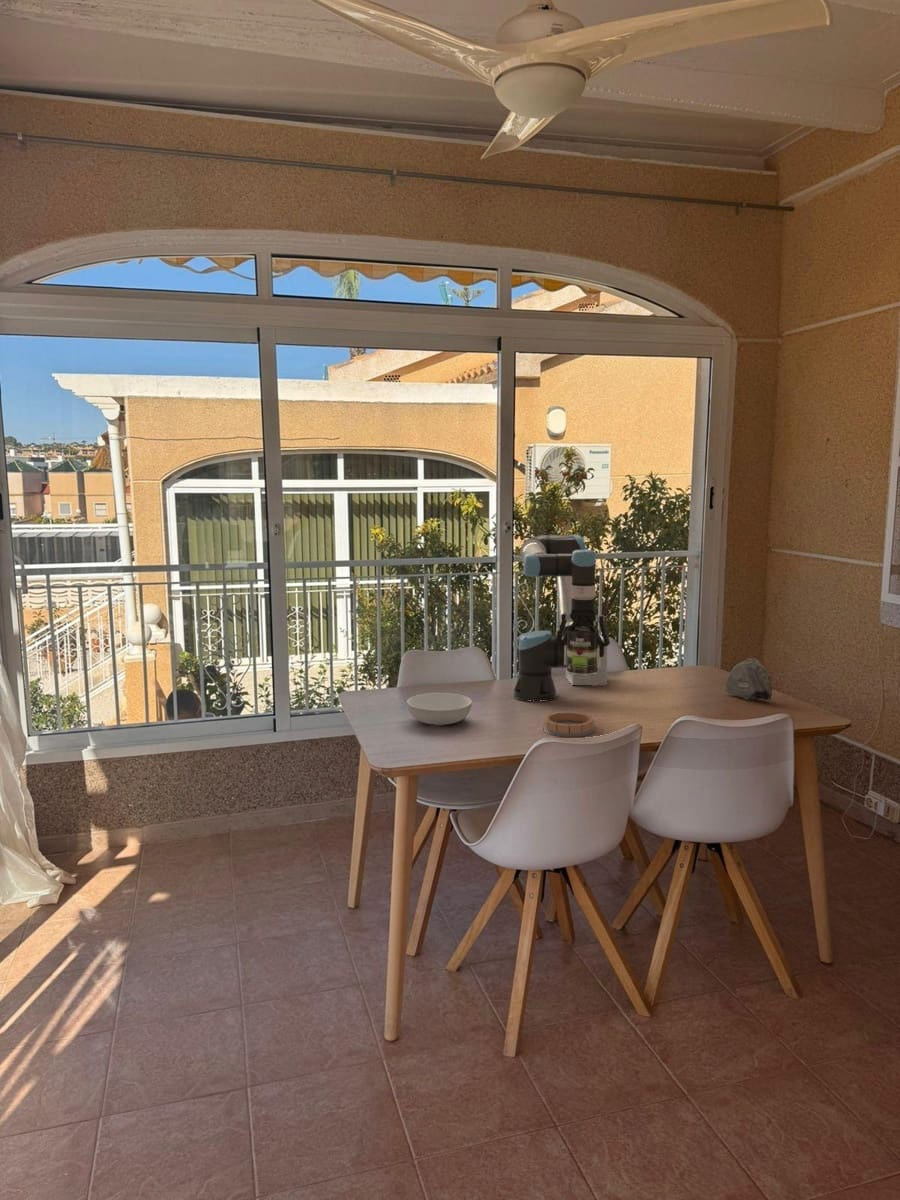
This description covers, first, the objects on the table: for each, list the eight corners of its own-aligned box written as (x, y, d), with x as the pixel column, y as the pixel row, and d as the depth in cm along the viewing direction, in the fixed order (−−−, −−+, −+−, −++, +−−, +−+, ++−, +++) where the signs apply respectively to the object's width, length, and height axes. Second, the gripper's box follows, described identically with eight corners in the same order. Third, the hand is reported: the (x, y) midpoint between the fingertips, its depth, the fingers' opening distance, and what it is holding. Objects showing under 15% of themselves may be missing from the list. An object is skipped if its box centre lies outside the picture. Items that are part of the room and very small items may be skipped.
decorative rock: (773, 703, 280) (775, 660, 278) (761, 706, 276) (763, 662, 274) (734, 693, 293) (735, 652, 291) (722, 695, 290) (723, 654, 288)
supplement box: (598, 677, 319) (599, 633, 317) (607, 685, 306) (607, 639, 304) (565, 678, 318) (565, 634, 316) (572, 686, 305) (572, 640, 303)
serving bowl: (421, 734, 249) (421, 712, 248) (398, 717, 268) (397, 696, 267) (482, 726, 257) (482, 704, 256) (456, 709, 276) (455, 689, 275)
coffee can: (595, 677, 259) (595, 633, 257) (563, 674, 263) (563, 631, 261) (600, 669, 269) (601, 627, 267) (569, 667, 272) (570, 626, 270)
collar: (536, 733, 248) (536, 722, 247) (550, 719, 262) (550, 709, 262) (588, 739, 242) (588, 728, 241) (599, 724, 256) (600, 714, 256)
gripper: (546, 597, 263) (545, 665, 266) (616, 601, 254) (614, 670, 258) (552, 594, 270) (551, 660, 273) (620, 598, 261) (619, 665, 265)
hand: (582, 665), depth 265 cm, fingers closed on coffee can, 10 cm apart
